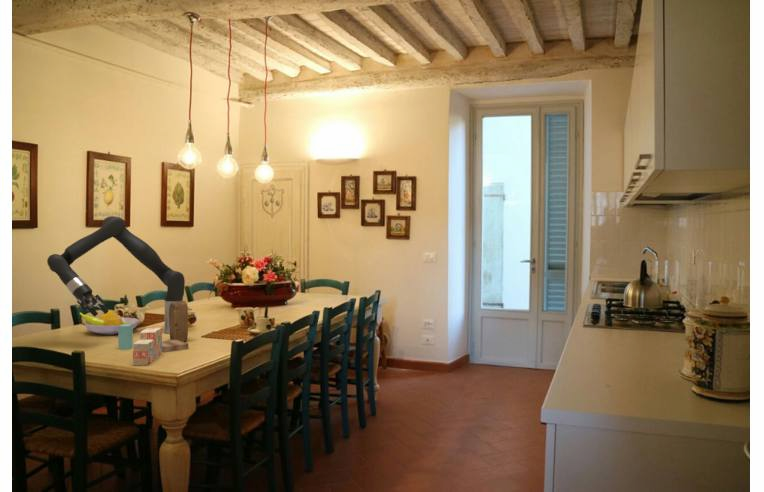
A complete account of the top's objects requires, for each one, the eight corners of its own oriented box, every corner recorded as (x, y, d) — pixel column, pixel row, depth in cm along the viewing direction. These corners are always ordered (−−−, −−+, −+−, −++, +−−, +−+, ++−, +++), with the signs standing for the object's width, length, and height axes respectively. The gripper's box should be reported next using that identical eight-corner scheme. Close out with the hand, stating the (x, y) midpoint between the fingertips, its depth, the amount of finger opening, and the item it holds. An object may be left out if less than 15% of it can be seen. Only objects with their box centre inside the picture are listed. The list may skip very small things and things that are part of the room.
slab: (177, 345, 278) (177, 339, 278) (188, 349, 270) (188, 343, 269) (152, 349, 270) (152, 342, 270) (163, 353, 261) (163, 347, 261)
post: (123, 347, 270) (123, 324, 270) (132, 347, 270) (132, 324, 269) (118, 349, 266) (118, 325, 265) (127, 349, 265) (127, 326, 265)
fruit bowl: (146, 328, 319) (146, 308, 318) (125, 337, 292) (126, 315, 291) (95, 327, 318) (95, 307, 317) (70, 337, 291) (70, 315, 290)
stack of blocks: (148, 365, 238) (148, 336, 237) (132, 365, 237) (132, 336, 237) (162, 353, 259) (162, 327, 259) (147, 353, 258) (147, 327, 258)
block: (188, 342, 285) (189, 302, 284) (173, 343, 280) (174, 303, 279) (181, 338, 293) (182, 299, 292) (167, 339, 289) (167, 300, 288)
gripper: (75, 284, 262) (98, 310, 261) (93, 282, 276) (115, 306, 275) (64, 295, 262) (87, 321, 261) (83, 292, 276) (105, 316, 276)
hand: (101, 313), depth 268 cm, fingers open, 8 cm apart
